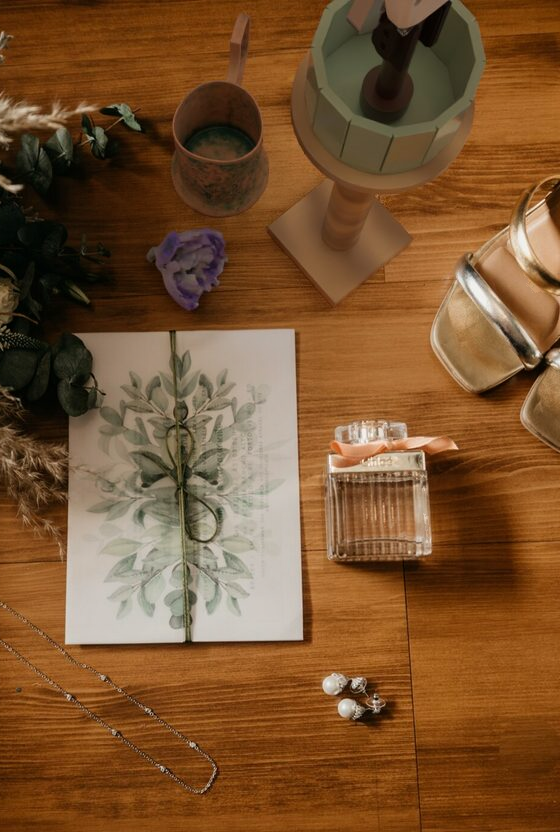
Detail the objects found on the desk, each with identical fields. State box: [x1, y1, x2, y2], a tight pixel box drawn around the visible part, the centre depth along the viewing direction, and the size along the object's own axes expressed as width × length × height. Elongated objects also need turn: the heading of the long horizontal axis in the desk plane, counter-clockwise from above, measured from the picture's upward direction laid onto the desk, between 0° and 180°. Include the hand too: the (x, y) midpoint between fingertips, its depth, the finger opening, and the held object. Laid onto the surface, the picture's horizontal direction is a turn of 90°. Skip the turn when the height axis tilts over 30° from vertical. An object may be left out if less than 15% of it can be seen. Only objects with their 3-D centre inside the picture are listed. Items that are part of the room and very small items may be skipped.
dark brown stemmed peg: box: [359, 18, 426, 123], centre depth 51 cm, size 4×4×12 cm
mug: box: [170, 12, 270, 218], centre depth 79 cm, size 12×18×12 cm, turn 166°
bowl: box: [304, 0, 487, 175], centre depth 56 cm, size 13×13×6 cm
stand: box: [266, 48, 476, 308], centre depth 71 cm, size 15×15×26 cm
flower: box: [146, 227, 229, 312], centre depth 80 cm, size 9×9×10 cm
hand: (403, 42), depth 50 cm, fingers closed on dark brown stemmed peg, 2 cm apart
